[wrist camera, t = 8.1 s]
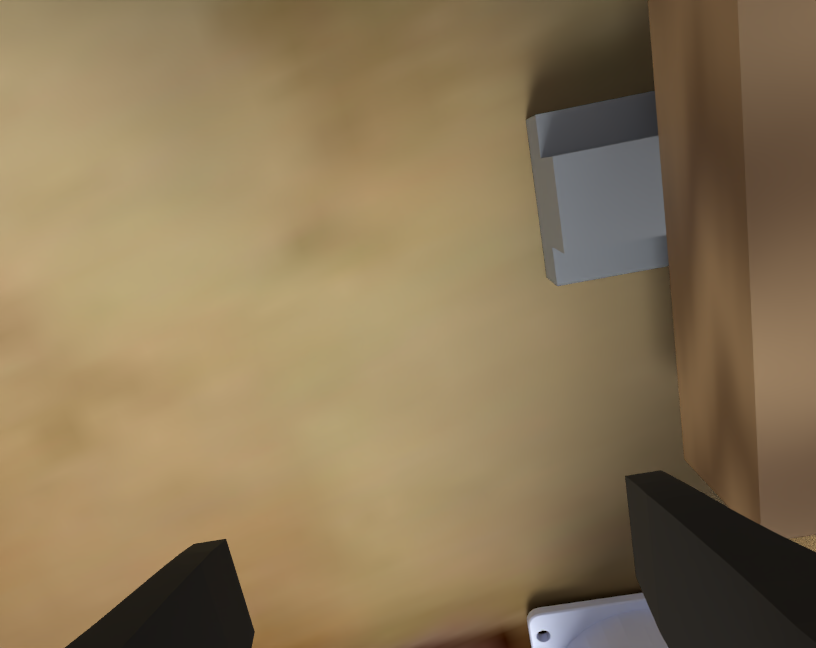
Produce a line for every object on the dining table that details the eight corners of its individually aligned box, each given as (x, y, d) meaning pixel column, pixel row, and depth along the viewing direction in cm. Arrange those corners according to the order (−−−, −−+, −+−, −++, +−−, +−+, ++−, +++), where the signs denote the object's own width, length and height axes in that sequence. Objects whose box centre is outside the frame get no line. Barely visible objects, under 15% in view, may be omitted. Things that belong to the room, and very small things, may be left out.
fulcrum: (829, 226, 18) (906, 235, 15) (546, 277, 19) (569, 295, 16) (827, 58, 17) (911, 34, 14) (525, 120, 18) (546, 108, 15)
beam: (804, 440, 17) (919, 519, 13) (684, 459, 17) (761, 542, 13) (790, -198, 13) (949, -358, 9) (635, -161, 13) (724, -302, 9)
